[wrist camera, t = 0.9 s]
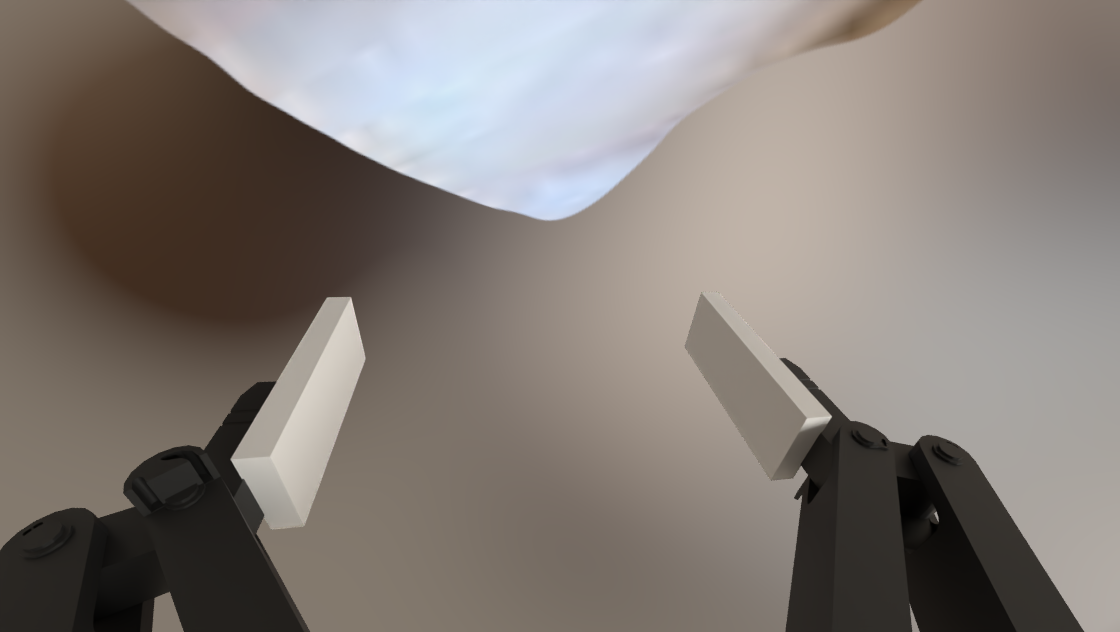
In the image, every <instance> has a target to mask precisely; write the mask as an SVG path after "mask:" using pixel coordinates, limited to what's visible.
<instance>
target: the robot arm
mask: <svg viewBox="0 0 1120 632" xmlns="http://www.w3.org/2000/svg"><path fill="white" fill-rule="evenodd" d="M685 348H686V350H687V351H688V353H689V354H690V356H691V357H692V359H693V360H694V362H695V363H696V365H697V367H698V368H699V370H700V371H701V373H702V374H703V376H704V378H705V379H706V381H707V382H708V384H709V385H710V387H711V388H712V390H713V392H714V393H715V395H716V396H717V398H718V399H719V401H720V403H721V404H722V406H723V407H724V409H725V410H726V411H727V413H728V415H729V416H730V418H731V420H732V421H733V423H734V424H735V426H736V427H737V429H738V430H739V432H740V434H741V435H742V437H743V438H744V440H745V441H746V443H747V444H748V446H749V448H750V449H751V451H752V452H753V454H754V455H755V457H756V459H757V460H758V462H759V463H760V465H761V466H762V468H763V469H764V471H765V473H766V474H767V476H768V477H769V479H770V480H781V479H791V478H793V477H794V476H795V474H796V473H797V471H798V469H799V468H800V466H802V467H803V469H804V470H805V471H806V473H807V474H808V477H807V478H806V480H805V481H804V483H803V484H802V486H801V487H800V489H799V490H798V492H797V493H796V495H795V497H794V498H795V499H797V500H798V499H799V498H800V496H801V495H802V503H801V510H800V518H799V526H798V535H797V543H796V551H795V559H794V567H793V575H792V583H791V592H790V600H789V607H788V608H789V609H788V615H787V616H788V617H787V624H786V632H912V625H911V616H910V605H911V608H912V611H913V614H914V617H915V619H916V622H917V625H918V628H919V631H920V632H1084V631H1083V629H1082V628H1081V626H1080V625H1079V623H1078V621H1077V620H1076V618H1075V617H1074V615H1073V614H1072V612H1071V610H1070V609H1069V607H1068V606H1067V604H1066V603H1065V601H1064V599H1063V598H1062V596H1061V595H1060V593H1059V592H1058V590H1057V589H1056V587H1055V585H1054V584H1053V582H1052V581H1051V579H1050V578H1049V576H1048V574H1047V573H1046V571H1045V570H1044V568H1043V567H1042V565H1041V564H1040V562H1039V560H1038V559H1037V557H1036V555H1035V554H1034V552H1033V551H1032V549H1031V548H1030V546H1029V545H1028V543H1027V541H1026V540H1025V538H1024V537H1023V535H1022V534H1021V532H1020V530H1019V529H1018V527H1017V526H1016V524H1015V523H1014V521H1013V519H1012V518H1011V516H1010V515H1009V513H1008V512H1007V510H1006V509H1005V507H1004V505H1003V504H1002V502H1001V501H1000V499H999V497H998V496H997V494H996V493H995V491H994V490H993V488H992V487H991V485H990V483H989V482H988V480H987V479H986V477H985V476H984V474H983V473H982V471H981V469H980V468H979V466H978V465H977V463H976V461H975V460H974V459H973V458H972V457H971V456H970V454H969V453H967V452H966V451H965V450H964V449H962V448H961V447H960V446H958V445H957V444H955V443H952V442H951V441H949V440H946V439H943V438H941V437H938V436H932V435H926V436H922V437H921V438H920V439H919V441H918V442H917V443H916V444H915V445H914V446H911V445H906V444H900V443H895V442H890V441H889V440H888V439H887V438H886V437H885V435H883V434H882V433H881V432H879V431H878V430H877V429H875V428H873V427H871V426H869V425H867V424H864V423H861V422H857V421H850V420H849V419H848V418H847V417H846V416H845V415H844V414H843V413H842V412H841V411H840V410H839V409H838V407H836V405H834V403H833V402H832V401H831V400H830V399H829V398H828V397H827V396H826V395H825V394H824V393H823V392H822V391H821V390H819V389H818V386H817V385H816V384H815V383H814V382H813V381H810V378H809V377H808V376H807V375H806V374H805V373H804V372H803V371H802V370H801V368H799V367H798V366H796V365H795V364H793V363H792V362H790V361H789V360H787V359H786V358H778V357H777V356H776V355H775V353H774V352H773V351H772V350H771V349H770V348H769V347H768V346H767V345H766V344H765V342H764V341H763V340H762V339H761V338H760V337H759V336H758V335H757V334H756V333H755V331H754V330H753V329H752V328H751V327H750V326H749V325H748V324H747V323H746V322H745V320H743V318H742V317H741V316H740V315H739V314H738V313H737V312H736V311H735V309H734V308H733V307H732V306H731V305H730V304H729V303H728V302H727V301H726V299H725V298H724V297H723V296H722V295H721V294H720V293H719V292H701V295H700V298H699V301H698V305H697V308H696V312H695V315H694V318H693V321H692V324H691V328H690V331H689V334H688V337H687V341H686V344H685ZM364 361H365V354H364V350H363V345H362V341H361V337H360V334H359V329H358V325H357V321H356V316H355V312H354V308H353V304H352V300H351V297H331V298H329V297H328V298H327V299H326V300H325V302H324V304H323V305H322V307H321V309H320V310H319V312H318V314H317V315H316V317H315V319H314V321H313V322H312V324H311V325H310V327H309V329H308V330H307V332H306V334H305V335H304V337H303V339H302V340H301V342H300V344H299V346H298V347H297V349H296V351H295V352H294V354H293V356H292V357H291V359H290V361H289V362H288V364H287V366H286V367H285V369H284V371H283V372H282V374H281V376H280V377H279V379H278V381H277V382H257V383H256V384H255V385H254V386H252V387H251V388H250V389H249V390H247V391H246V392H245V393H244V394H242V395H241V396H240V398H239V399H238V401H237V402H236V404H235V405H234V407H233V408H232V409H231V413H230V414H228V415H227V417H226V418H225V420H224V421H223V425H222V426H220V427H219V429H218V430H217V432H216V433H215V435H214V436H213V438H212V439H211V440H210V442H209V444H208V445H207V446H206V448H205V450H202V449H201V448H200V447H195V446H189V445H188V446H181V447H175V448H172V449H169V450H166V451H163V452H160V453H158V454H156V455H155V456H153V457H151V458H149V459H147V460H146V461H144V462H143V463H142V464H141V465H139V466H138V467H137V468H136V469H135V470H134V471H132V472H131V474H130V475H129V477H128V478H127V480H126V481H125V483H124V492H123V493H124V495H125V496H126V497H127V498H128V499H129V500H130V501H131V503H132V504H133V505H134V506H135V507H133V508H129V509H126V510H123V511H120V512H117V513H113V514H110V515H107V516H104V517H100V518H97V517H96V516H95V515H94V514H93V513H92V512H91V511H89V510H87V509H85V508H70V509H66V510H62V511H58V512H54V513H52V514H50V515H47V516H45V517H43V518H41V519H39V520H36V521H35V522H33V523H32V524H30V525H29V526H27V527H26V528H24V529H22V530H21V531H19V532H18V533H17V534H16V535H15V536H13V537H12V538H11V539H10V540H9V541H8V542H7V543H6V544H5V545H4V546H3V547H2V549H1V550H0V632H152V624H153V611H154V610H153V609H154V598H155V597H157V596H160V595H162V594H165V593H167V592H170V593H171V596H172V599H173V602H174V605H175V607H176V610H177V613H178V616H179V619H180V622H181V625H182V628H183V630H184V632H310V631H309V629H308V627H307V625H306V623H305V621H304V620H303V618H302V616H301V614H300V612H299V610H298V609H297V607H296V605H295V603H294V602H293V600H292V598H291V596H290V594H289V592H288V590H287V589H286V587H285V585H284V583H283V581H282V579H281V577H280V576H279V574H278V572H277V570H276V568H275V567H274V565H273V563H272V561H271V559H270V557H269V555H268V554H267V552H266V550H265V548H264V547H263V544H262V543H261V541H260V539H259V537H258V536H257V534H256V533H257V530H258V528H259V526H260V524H261V522H262V519H263V517H264V518H265V520H266V522H267V524H268V525H269V527H270V529H271V530H272V529H282V528H291V527H302V526H304V525H305V522H306V520H307V517H308V515H309V512H310V509H311V506H312V503H313V501H314V498H315V495H316V493H317V490H318V487H319V484H320V482H321V479H322V476H323V473H324V471H325V468H326V465H327V463H328V460H329V457H330V454H331V451H332V449H333V446H334V443H335V441H336V438H337V435H338V433H339V430H340V427H341V424H342V422H343V419H344V416H345V413H346V411H347V408H348V405H349V402H350V400H351V397H352V394H353V391H354V389H355V386H356V383H357V380H358V378H359V375H360V372H361V370H362V367H363V364H364ZM936 511H937V514H938V517H939V522H938V521H937V519H936V517H935V515H934V513H935V512H936ZM909 603H910V605H909Z"/></svg>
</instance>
